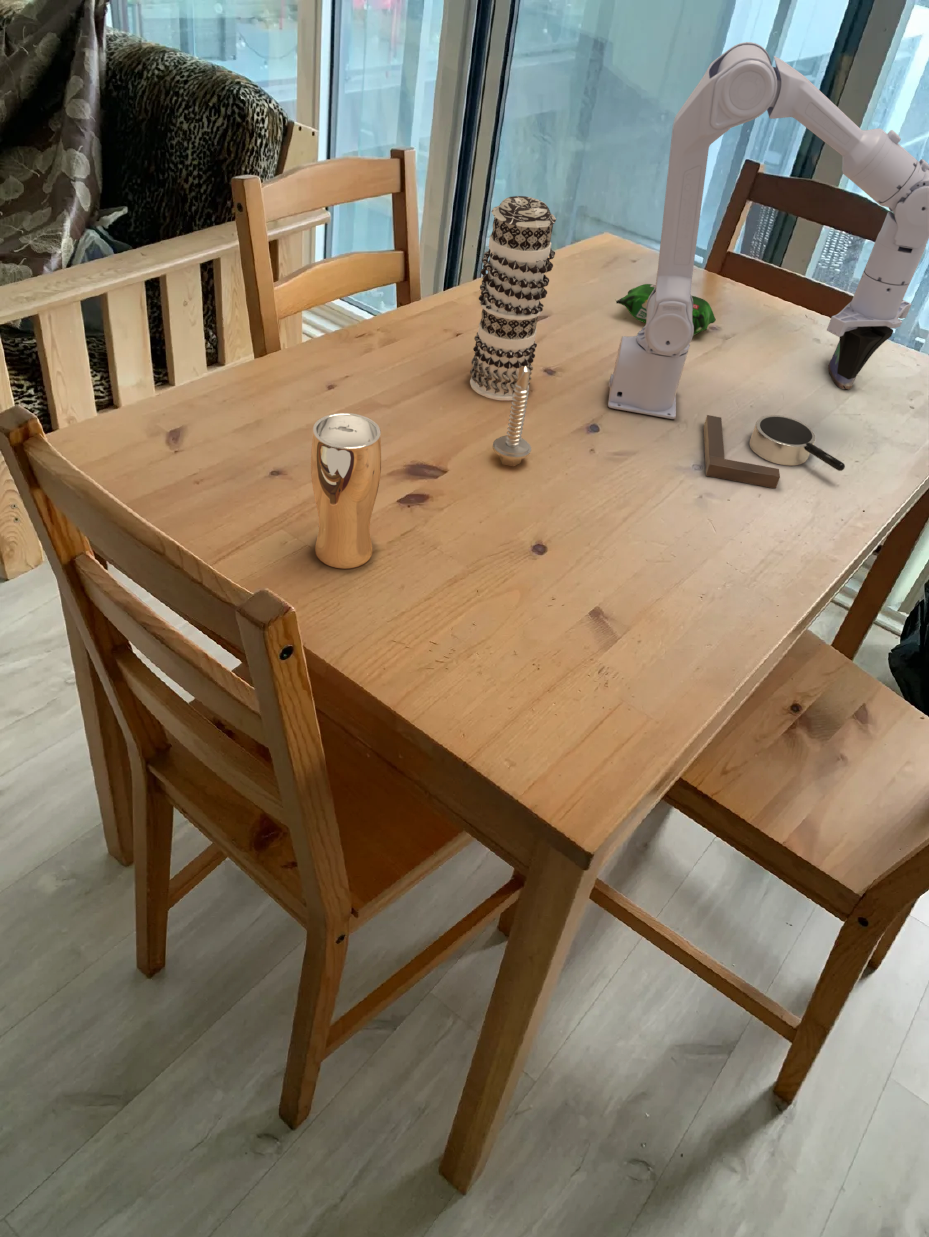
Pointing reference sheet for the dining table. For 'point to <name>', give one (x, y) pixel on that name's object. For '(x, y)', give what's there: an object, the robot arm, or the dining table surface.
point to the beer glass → (345, 486)
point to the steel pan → (787, 442)
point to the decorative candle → (511, 294)
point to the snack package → (638, 302)
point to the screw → (515, 425)
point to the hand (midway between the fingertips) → (845, 375)
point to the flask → (833, 367)
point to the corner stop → (730, 468)
